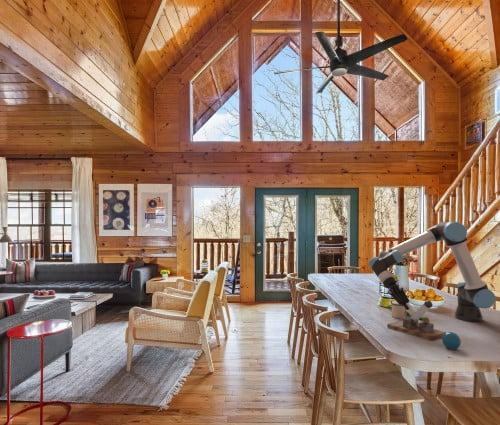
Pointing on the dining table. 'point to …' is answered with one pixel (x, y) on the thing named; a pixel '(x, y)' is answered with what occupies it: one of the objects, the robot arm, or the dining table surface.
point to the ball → (451, 340)
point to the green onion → (407, 313)
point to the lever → (421, 311)
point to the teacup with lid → (398, 310)
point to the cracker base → (417, 328)
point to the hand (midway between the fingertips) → (413, 314)
